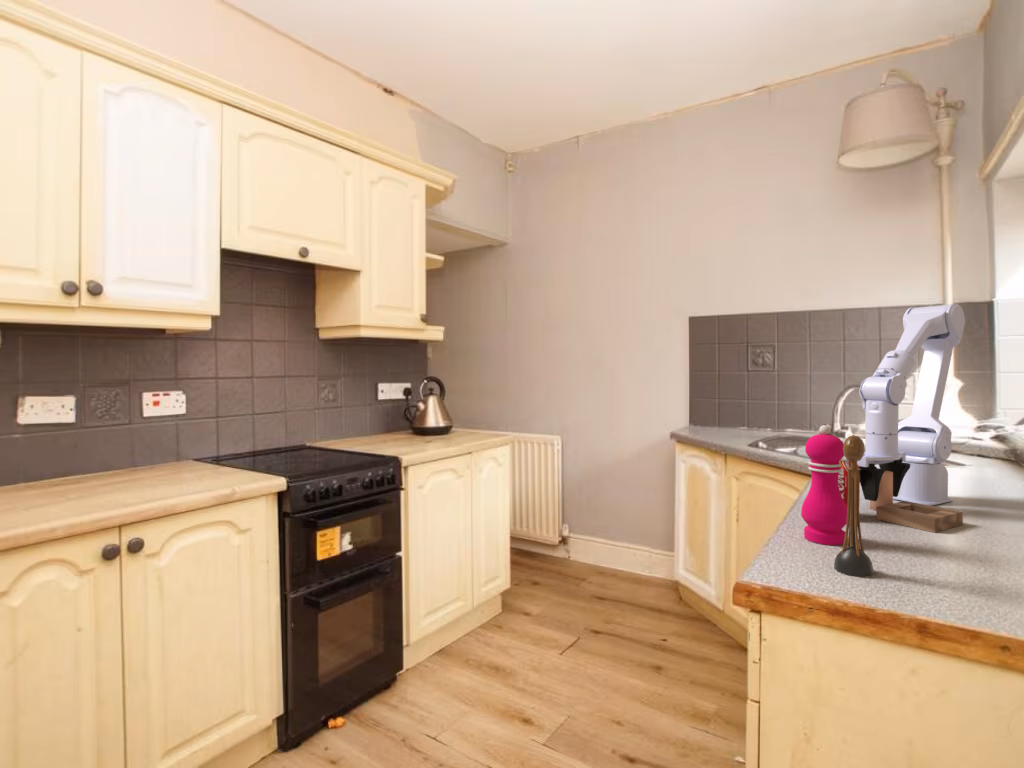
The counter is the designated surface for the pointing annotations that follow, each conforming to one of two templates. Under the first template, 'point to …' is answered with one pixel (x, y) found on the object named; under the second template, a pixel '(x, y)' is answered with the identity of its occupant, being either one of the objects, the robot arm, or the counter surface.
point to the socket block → (920, 516)
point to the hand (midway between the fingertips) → (881, 497)
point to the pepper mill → (824, 490)
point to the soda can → (845, 479)
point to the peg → (884, 491)
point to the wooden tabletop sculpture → (853, 517)
